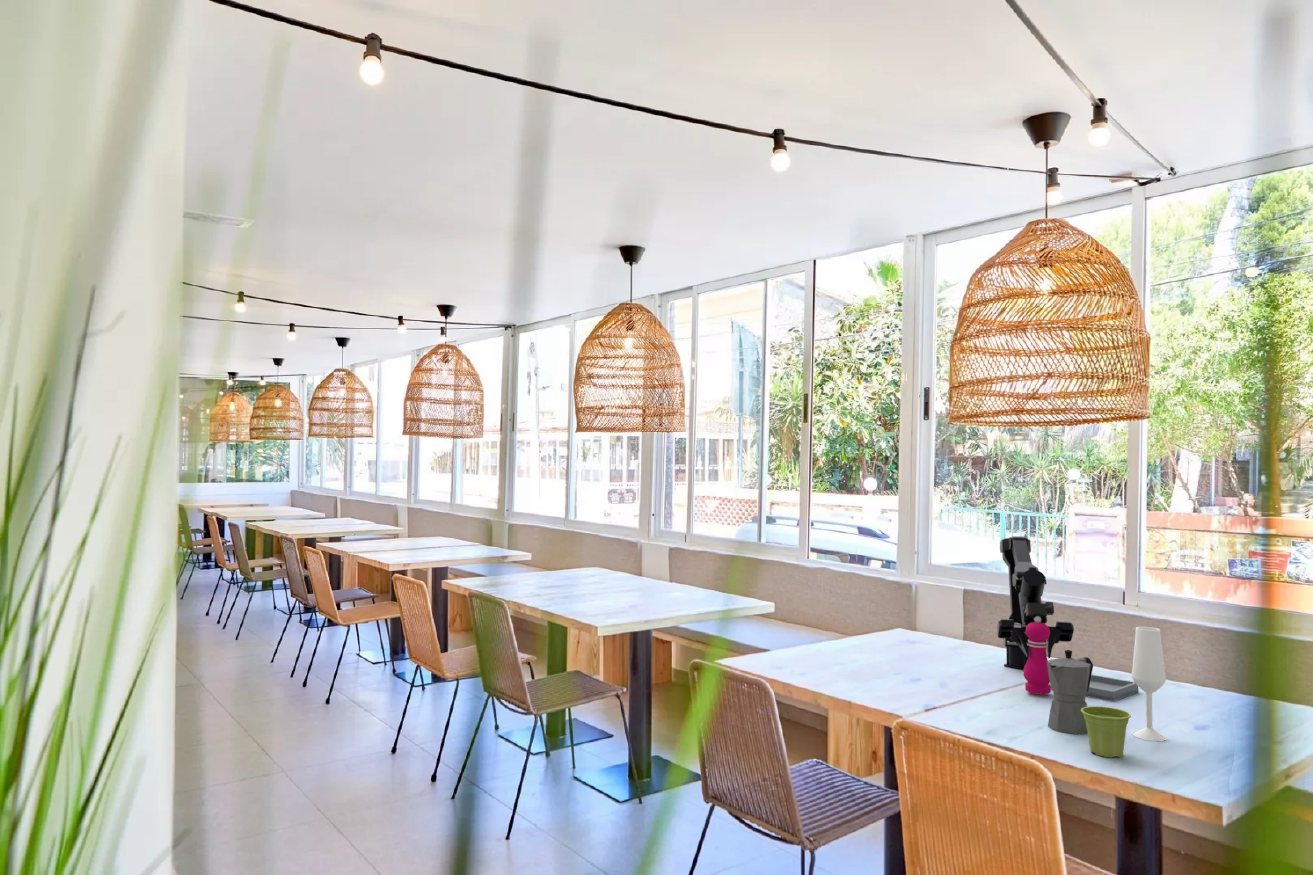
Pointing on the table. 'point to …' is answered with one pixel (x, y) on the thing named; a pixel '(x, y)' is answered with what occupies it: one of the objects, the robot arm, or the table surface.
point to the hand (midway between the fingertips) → (1038, 656)
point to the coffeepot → (1069, 693)
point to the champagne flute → (1148, 673)
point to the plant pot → (1106, 730)
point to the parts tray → (1110, 688)
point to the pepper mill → (1037, 658)
